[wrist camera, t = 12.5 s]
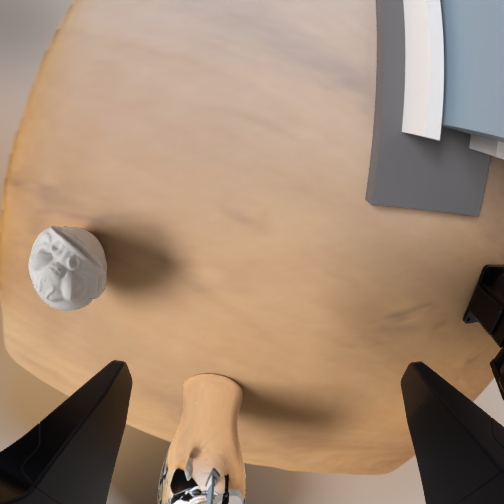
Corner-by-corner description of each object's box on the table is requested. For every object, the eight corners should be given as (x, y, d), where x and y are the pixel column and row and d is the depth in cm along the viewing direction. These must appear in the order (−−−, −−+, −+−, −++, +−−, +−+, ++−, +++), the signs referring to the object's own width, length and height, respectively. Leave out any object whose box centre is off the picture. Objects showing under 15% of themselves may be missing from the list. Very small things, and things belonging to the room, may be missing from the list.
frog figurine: (141, 238, 21) (101, 292, 14) (101, 295, 23) (64, 351, 17) (80, 186, 19) (21, 222, 12) (48, 251, 21) (0, 296, 15)
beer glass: (258, 381, 27) (260, 529, 14) (233, 415, 30) (227, 538, 16) (188, 361, 26) (159, 515, 12) (172, 399, 29) (147, 525, 15)
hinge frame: (466, -58, 8) (491, -70, 4) (470, 211, 19) (501, 231, 16) (362, -101, 8) (378, -125, 4) (365, 199, 19) (390, 221, 15)
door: (462, -27, 9) (543, -55, 1) (470, 134, 16) (573, 168, 7) (417, -49, 9) (492, -96, 1) (425, 121, 16) (536, 147, 7)
